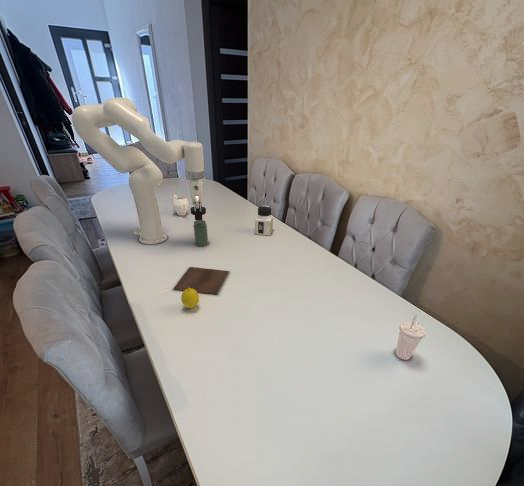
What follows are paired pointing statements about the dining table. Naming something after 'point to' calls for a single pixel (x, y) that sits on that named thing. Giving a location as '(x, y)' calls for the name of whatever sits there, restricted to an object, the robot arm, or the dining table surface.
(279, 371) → the dining table surface
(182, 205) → the teapot
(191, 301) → the fruit
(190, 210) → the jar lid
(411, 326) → the smoothie
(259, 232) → the container
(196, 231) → the jar
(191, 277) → the placemat
